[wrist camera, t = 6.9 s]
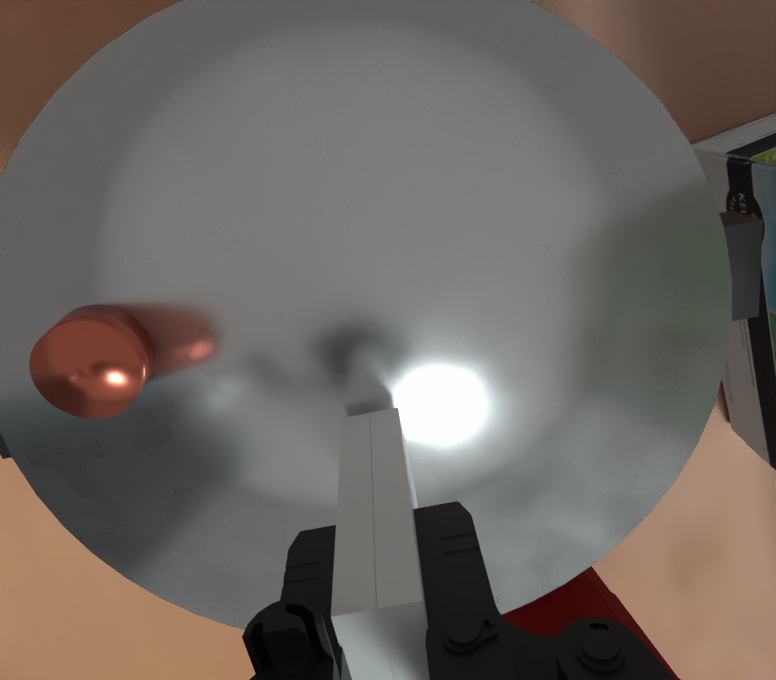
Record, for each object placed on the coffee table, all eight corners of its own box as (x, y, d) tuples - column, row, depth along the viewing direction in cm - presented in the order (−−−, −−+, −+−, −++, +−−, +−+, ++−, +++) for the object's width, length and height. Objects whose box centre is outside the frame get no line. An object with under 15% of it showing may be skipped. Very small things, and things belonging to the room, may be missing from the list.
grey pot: (174, 506, 31) (96, 678, 22) (20, 107, 24) (-195, 111, 15) (638, 420, 30) (760, 560, 21) (622, -17, 23) (796, -94, 14)
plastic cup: (445, 507, 32) (491, 725, 21) (647, 502, 32) (797, 713, 21) (439, 659, 36) (475, 910, 25) (618, 652, 36) (732, 896, 25)
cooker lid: (154, 646, 21) (129, 722, 19) (-150, 68, 13) (-263, 72, 11) (689, 551, 21) (733, 617, 18) (721, -114, 13) (809, -153, 10)
